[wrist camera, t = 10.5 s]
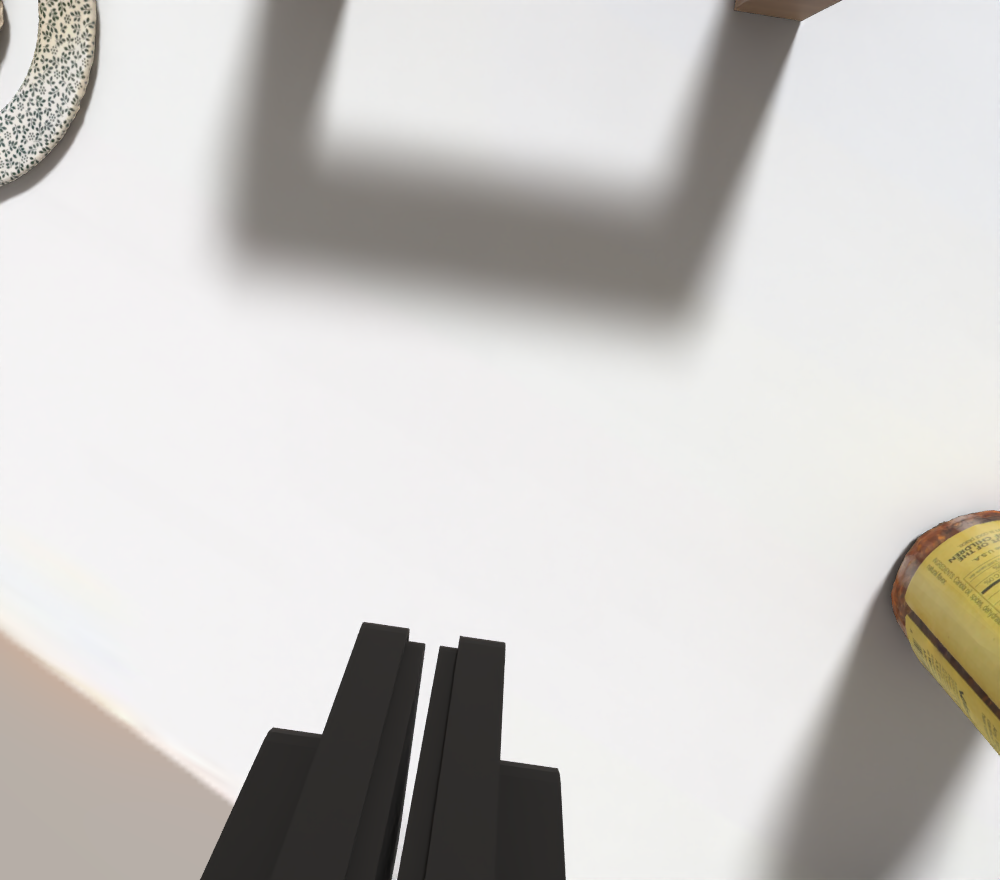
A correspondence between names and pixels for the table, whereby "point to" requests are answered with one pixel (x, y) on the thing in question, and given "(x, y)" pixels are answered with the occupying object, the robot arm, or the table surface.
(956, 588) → the sauce bottle
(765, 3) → the bridge
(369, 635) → the robot arm
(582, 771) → the table surface
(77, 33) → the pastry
